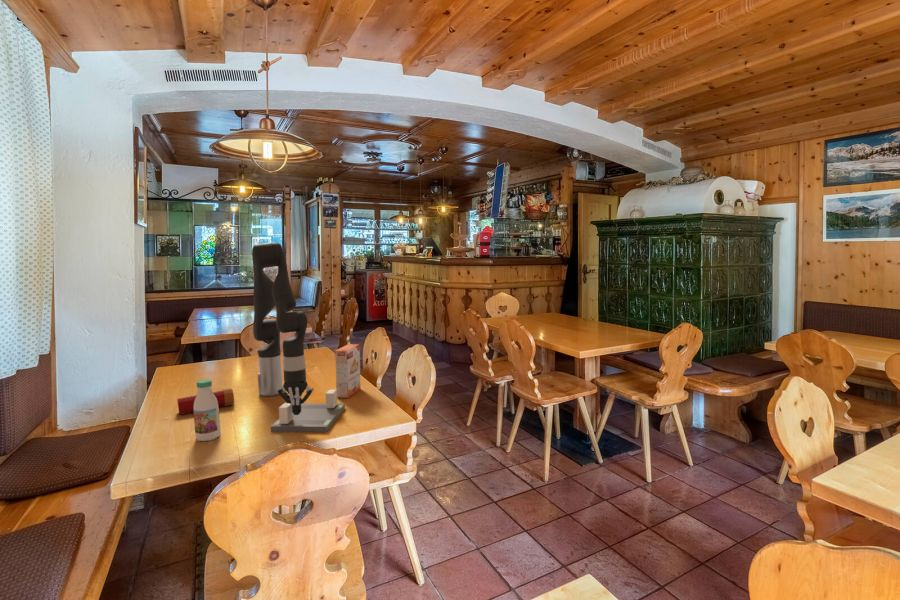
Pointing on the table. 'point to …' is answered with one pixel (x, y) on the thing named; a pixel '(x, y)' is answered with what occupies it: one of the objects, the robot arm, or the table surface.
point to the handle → (331, 398)
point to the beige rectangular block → (285, 413)
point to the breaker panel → (311, 419)
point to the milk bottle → (206, 412)
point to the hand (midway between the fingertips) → (297, 414)
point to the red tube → (222, 396)
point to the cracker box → (347, 370)
